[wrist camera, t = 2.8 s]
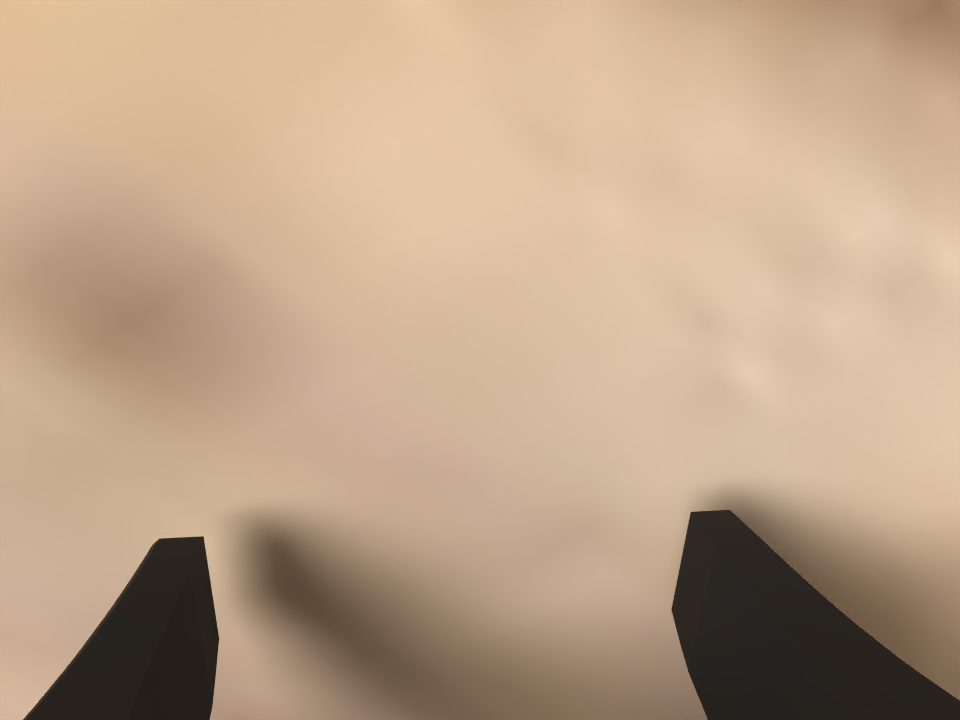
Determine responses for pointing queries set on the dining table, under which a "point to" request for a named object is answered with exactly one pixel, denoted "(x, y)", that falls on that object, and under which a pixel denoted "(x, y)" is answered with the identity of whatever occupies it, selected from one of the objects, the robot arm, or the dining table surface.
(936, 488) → the dining table surface
